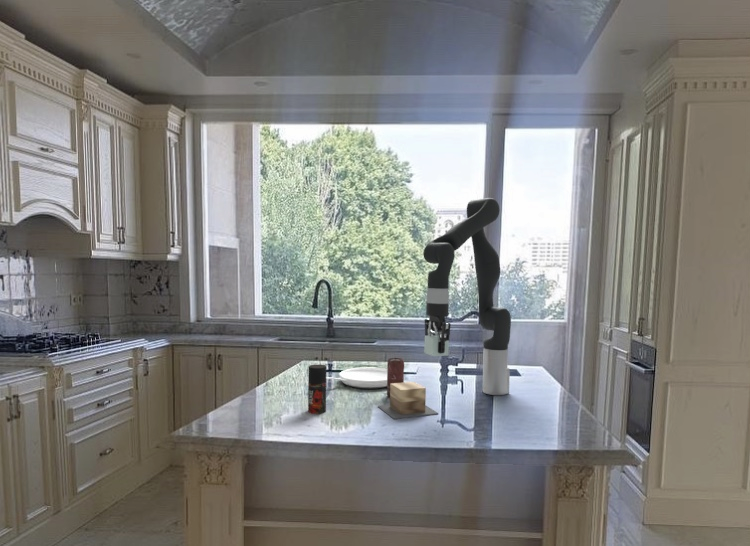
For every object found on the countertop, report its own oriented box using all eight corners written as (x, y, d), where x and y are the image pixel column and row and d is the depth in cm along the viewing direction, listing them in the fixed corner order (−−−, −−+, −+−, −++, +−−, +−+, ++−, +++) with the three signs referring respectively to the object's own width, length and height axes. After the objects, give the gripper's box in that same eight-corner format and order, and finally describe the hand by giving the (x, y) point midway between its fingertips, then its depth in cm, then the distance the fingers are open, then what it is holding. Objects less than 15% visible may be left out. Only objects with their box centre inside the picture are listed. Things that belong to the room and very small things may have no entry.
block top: (413, 393, 167) (413, 381, 167) (425, 399, 158) (425, 387, 158) (390, 395, 163) (390, 383, 163) (400, 402, 155) (400, 390, 155)
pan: (411, 385, 195) (411, 373, 195) (330, 399, 174) (330, 386, 174) (376, 373, 216) (376, 363, 216) (300, 384, 194) (300, 372, 194)
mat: (419, 402, 170) (419, 401, 170) (438, 414, 157) (438, 413, 157) (377, 406, 165) (377, 405, 165) (393, 419, 152) (393, 418, 152)
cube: (439, 352, 165) (440, 335, 165) (448, 355, 159) (449, 337, 159) (424, 353, 163) (424, 335, 163) (432, 356, 157) (433, 338, 157)
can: (402, 399, 174) (403, 361, 174) (385, 398, 176) (386, 360, 175) (405, 394, 180) (405, 358, 180) (388, 393, 181) (389, 357, 181)
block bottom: (413, 404, 167) (413, 393, 167) (425, 411, 158) (425, 399, 158) (389, 406, 164) (390, 395, 163) (400, 414, 155) (400, 402, 155)
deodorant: (328, 409, 161) (329, 365, 161) (321, 414, 155) (321, 368, 155) (313, 407, 163) (313, 363, 163) (304, 412, 157) (305, 367, 157)
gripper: (458, 303, 156) (457, 354, 156) (437, 300, 169) (435, 347, 169) (438, 303, 153) (436, 355, 153) (418, 300, 166) (416, 348, 166)
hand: (436, 351), depth 161 cm, fingers closed on cube, 6 cm apart
